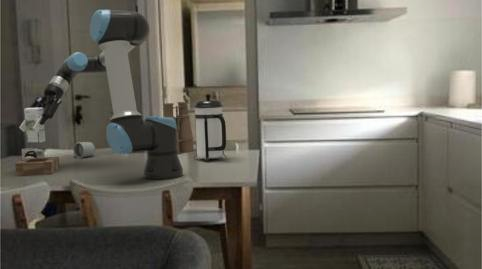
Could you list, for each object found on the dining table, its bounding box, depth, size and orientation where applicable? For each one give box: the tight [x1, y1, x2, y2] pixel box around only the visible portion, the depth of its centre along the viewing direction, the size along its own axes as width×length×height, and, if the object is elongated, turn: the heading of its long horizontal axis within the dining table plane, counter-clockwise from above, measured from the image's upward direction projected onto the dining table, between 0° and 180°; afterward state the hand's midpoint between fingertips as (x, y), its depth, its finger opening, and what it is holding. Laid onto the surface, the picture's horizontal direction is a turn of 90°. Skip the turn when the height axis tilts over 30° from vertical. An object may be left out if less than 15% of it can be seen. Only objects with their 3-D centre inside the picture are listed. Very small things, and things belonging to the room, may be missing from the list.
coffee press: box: [193, 93, 227, 163], centre depth 243 cm, size 17×16×30 cm
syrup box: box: [23, 107, 46, 144], centre depth 225 cm, size 6×6×14 cm
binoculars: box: [162, 101, 195, 155], centre depth 270 cm, size 21×10×25 cm, turn 145°
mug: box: [21, 147, 45, 160], centre depth 253 cm, size 10×7×7 cm
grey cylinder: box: [73, 141, 96, 159], centre depth 266 cm, size 11×8×8 cm
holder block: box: [14, 156, 60, 177], centre depth 227 cm, size 14×14×5 cm
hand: (28, 129), depth 222 cm, fingers closed on syrup box, 7 cm apart
